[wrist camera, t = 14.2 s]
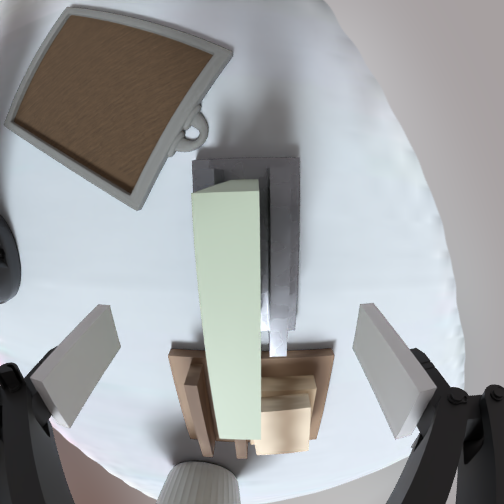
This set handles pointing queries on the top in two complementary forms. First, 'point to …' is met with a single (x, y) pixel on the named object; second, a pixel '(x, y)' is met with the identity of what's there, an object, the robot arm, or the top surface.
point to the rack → (294, 364)
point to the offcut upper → (284, 424)
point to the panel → (231, 301)
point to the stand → (268, 234)
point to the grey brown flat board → (115, 98)
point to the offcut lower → (289, 388)
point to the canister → (199, 485)
